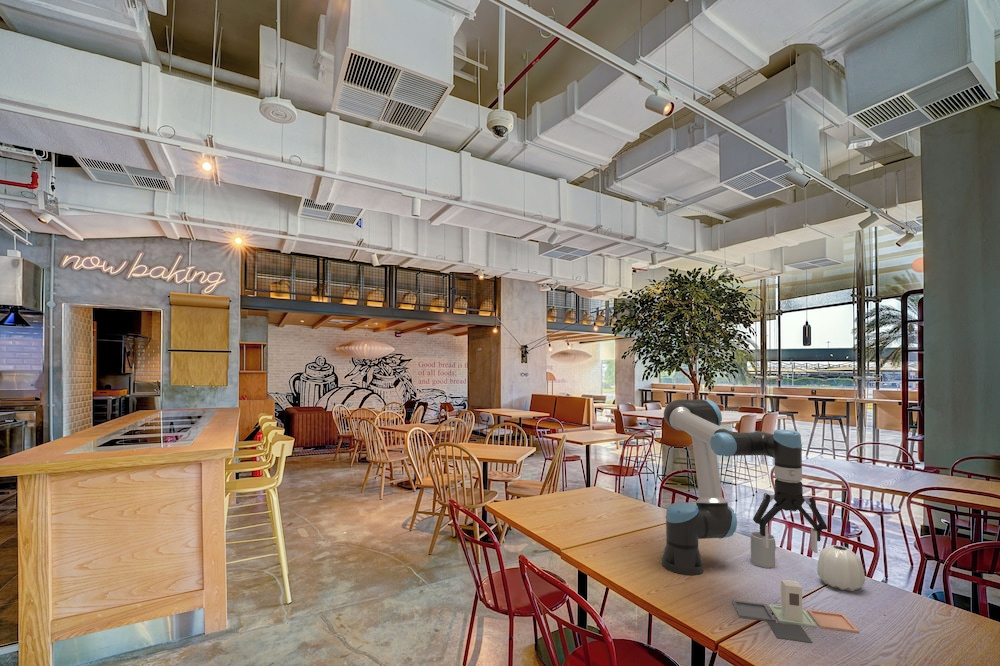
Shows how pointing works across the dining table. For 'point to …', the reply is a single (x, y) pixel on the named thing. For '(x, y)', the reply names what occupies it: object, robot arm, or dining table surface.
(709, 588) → the dining table surface
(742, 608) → the tray charcoal
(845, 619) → the tray terracotta
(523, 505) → the dining table surface
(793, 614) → the letter block
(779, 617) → the tray sage
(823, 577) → the vase
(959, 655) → the dining table surface
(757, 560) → the mug
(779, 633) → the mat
